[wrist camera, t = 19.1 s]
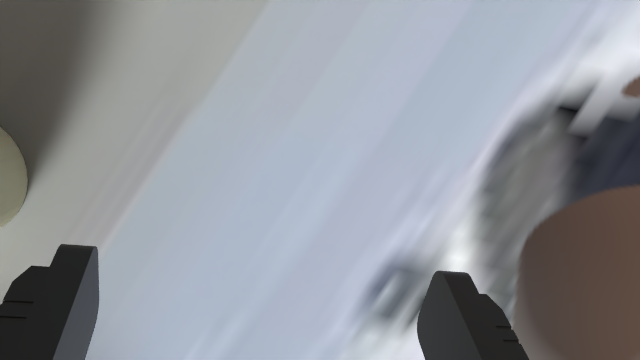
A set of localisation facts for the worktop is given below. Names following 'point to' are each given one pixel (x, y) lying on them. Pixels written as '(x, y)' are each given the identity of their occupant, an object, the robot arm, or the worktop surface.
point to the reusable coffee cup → (11, 178)
